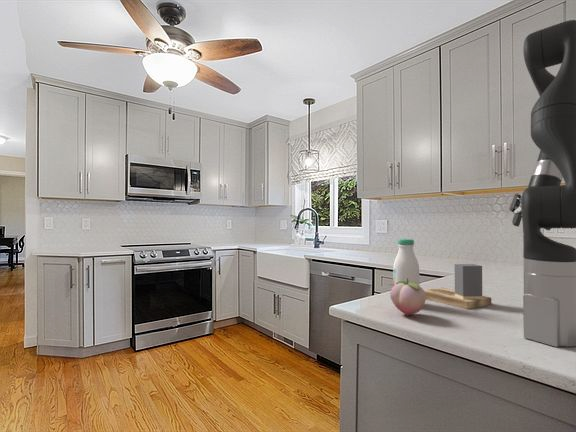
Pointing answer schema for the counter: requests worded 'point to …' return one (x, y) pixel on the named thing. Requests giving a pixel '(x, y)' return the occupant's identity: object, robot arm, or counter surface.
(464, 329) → the counter surface
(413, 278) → the milk bottle
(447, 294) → the oak board
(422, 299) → the decorative fruit
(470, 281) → the block
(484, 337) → the counter surface
